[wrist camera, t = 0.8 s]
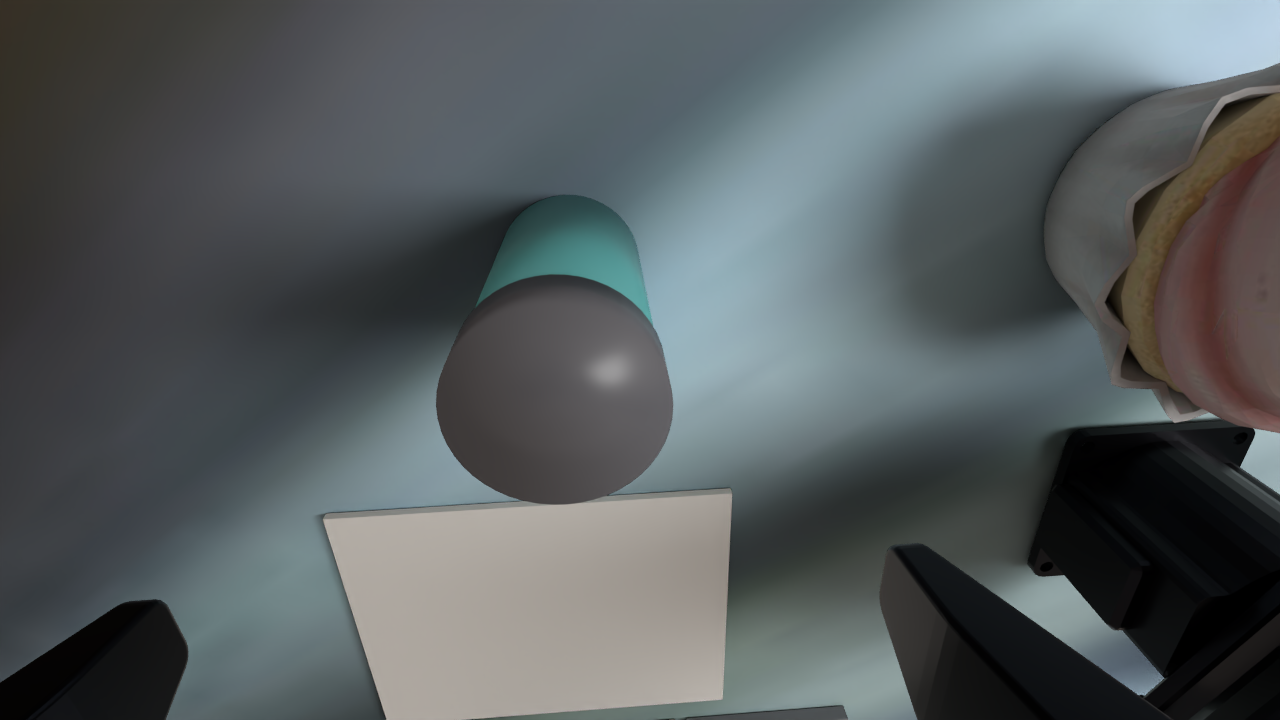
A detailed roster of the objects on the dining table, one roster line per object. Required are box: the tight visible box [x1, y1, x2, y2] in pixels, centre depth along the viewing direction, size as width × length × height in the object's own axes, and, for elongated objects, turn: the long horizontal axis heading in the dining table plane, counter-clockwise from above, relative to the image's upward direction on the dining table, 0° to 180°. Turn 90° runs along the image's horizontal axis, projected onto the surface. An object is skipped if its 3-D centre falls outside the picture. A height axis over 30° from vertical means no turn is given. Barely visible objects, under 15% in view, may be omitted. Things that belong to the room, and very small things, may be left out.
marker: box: [436, 195, 673, 505], centre depth 15 cm, size 4×4×8 cm
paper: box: [323, 488, 732, 720], centre depth 25 cm, size 14×11×1 cm
